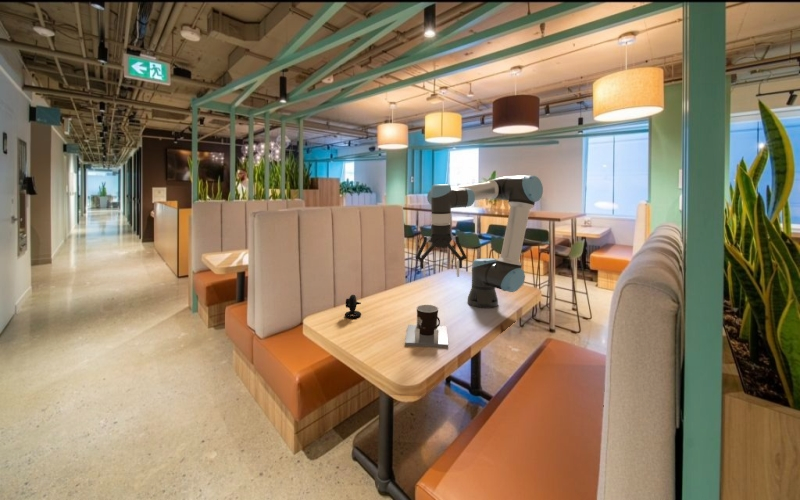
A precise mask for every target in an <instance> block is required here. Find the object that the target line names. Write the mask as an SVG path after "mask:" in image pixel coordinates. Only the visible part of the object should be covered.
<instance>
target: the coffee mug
mask: <svg viewBox="0 0 800 500" xmlns="http://www.w3.org/2000/svg"><path fill="white" fill-rule="evenodd" d="M438 313H439V307H438V306H436V305H432V304H419V305H418V306H417V307H416V319H417V318H418V328H419V329H420V334H421V335H425V336H430V335H433V334H434V330H435V329H436V328H437V327H438V326H441V319H440V318H439V314H438ZM437 315H438V317H437ZM437 319H438V323H437V326H436V322H437Z"/></svg>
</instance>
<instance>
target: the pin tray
mask: <svg viewBox="0 0 800 500" xmlns="http://www.w3.org/2000/svg"><path fill="white" fill-rule="evenodd" d="M437 317H438V318H439V314H438V315H437ZM438 323H439V322H438V319H437V322H436V326H437V325H438ZM448 340H449V338H448V329H447V326H446V325H439V326H438V327H437V328H436V329H435V330H434V334H433V335H430V336H425V335H421V334H420V329H419V328H418V318H417V317H416V324H407V327H406V335H405V341H404V346H407V347H427V348H429V347H430V348H431V347H432V348H448V349H449V341H448Z"/></svg>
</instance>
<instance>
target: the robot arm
mask: <svg viewBox="0 0 800 500" xmlns="http://www.w3.org/2000/svg"><path fill="white" fill-rule="evenodd" d="M543 187H544V186H543V183H542V180H541V178H539V177H538V176H537V175H530V174H526V175H505V176H501V177H497V178H493V179H488V180H487V181H485V182H480V183H479V182H478V183H473V184H472V183H471V184H465V185H457V186H452V185H451V184H448V183H447V184H445V183H444V184H442V183H441V184H433V185H432V186H431V189H430V190H429V191H428V192H427V195H426V199H427V203H428V204H429V205H430V206H431V209H430V210H431V213H430V214H431V215H430V216H431V217H430V218H431V236H426V235H424V236H423V240H422V241H423V242H422V243H421V246H420V248H419V249H418V252H417V253H416V255H415V260H417V261H419V263H420V265H419V266H420V269H423V271H422V273H423V277H422V278H426V260H425V259H426V258H427V256H429V254H430V253H431V252H432V251H433V250H434V249H435V248H438V249H439V248H443V249H444V248H448V249H449V251H451V252H452V253H453V254H454V256H455V257H456V258H457V259H456V277H457V278H459V277H460V269H462V268H463V261H464V260H467V258H468V257H467V255H466V253H465V251H464V249H463V247H462V245H461V243H460V238H459V236H458V235H457V234H456V235H454V236H452V235H451V233H452V231H451V220H452V216H451V215H452V214H451V210H452V209H457V208H469V207H471V206H473V205H474V203H475V201H479V200H485V199H487V200H503V201H507V204H508V205H509V208H510V209H509V212H508V213H509V214H508V217H507V224H506V228H505V233H504V238H503V243H502V249H501V254H500V257H498V258H497V259H496V258H490V257H489V258H488V257H487V258H486V257H485V258H477V259H474V260H473V261H472V267H471V288H470V291H469V294H468V296H467V304H469V306H472V307H477V308H481V309H482V308H483V309H486V308H487V309H490V308H495V307H497V306H498V304H499V299H498V295H497V292H496V289H499V290H501V291H503V292H508V293H515V292H517V291H518V290H519V289H520V288H521V287H522V286H523V285H524V284H525V280H526V274H525V271H524V270H523V269H522V263H521V261H520V259H521V253H522V250H523V244H524V239H525V235H526V231H527V226H528V220H529V215H530V210H531V209H532V208H534V207H535V204H536V202H539V201H540V199H542V196H543V193H544V188H543ZM452 240H453V242H455V244H456V245H457V248H458V250H459V252H460V254H461V255H460V254H459V253H458V251H456V249H455V248H454V247H453V245H452V244H451V242H452ZM429 241H430V242H431V245H430V246H429V247H428V248H427V249H426V250H425V251H424V249H425V247H426V245H427V243H428V242H429ZM423 251H424V253H423ZM422 253H423V254H422Z"/></svg>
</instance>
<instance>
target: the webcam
mask: <svg viewBox="0 0 800 500" xmlns="http://www.w3.org/2000/svg"><path fill="white" fill-rule="evenodd" d="M357 300H358V299H357V297H356V295H355V294H350V296H349V297H348V298H346V299H345V308H347V309H349V311H346V312H345V313H344V317H345V318H346V319H352V320H353V319H354V320H355V319H358V318H361V317H362V312H361V311H358V310H356V309H357V305H361V304H362V302H359V301H357Z"/></svg>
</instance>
